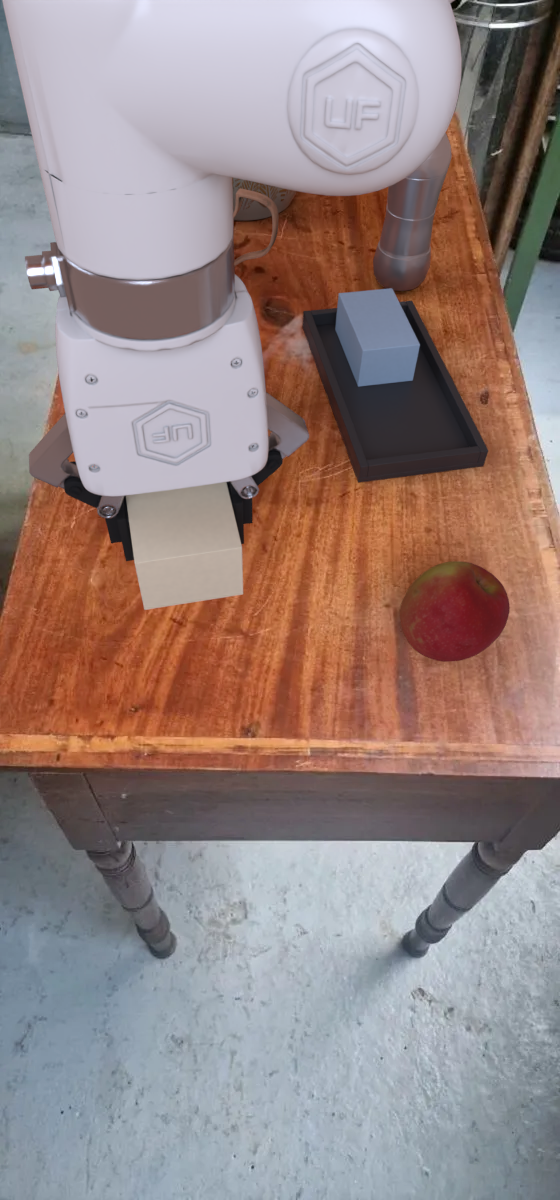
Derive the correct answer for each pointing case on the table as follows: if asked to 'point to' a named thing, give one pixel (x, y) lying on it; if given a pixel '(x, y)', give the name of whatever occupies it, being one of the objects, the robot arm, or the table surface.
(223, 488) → the cream block
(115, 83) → the robot arm
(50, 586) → the table surface
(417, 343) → the pale blue brick
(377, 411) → the tray
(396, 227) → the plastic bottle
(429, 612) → the apple
